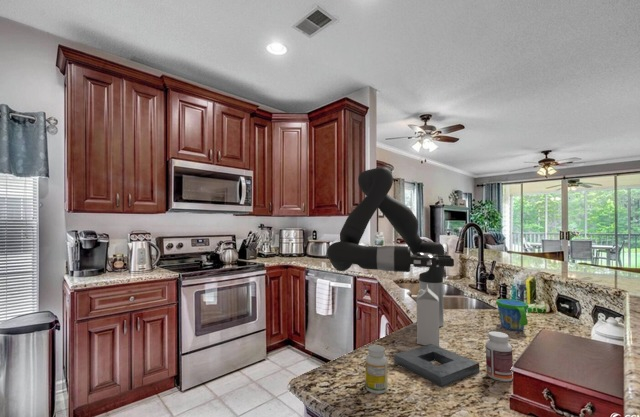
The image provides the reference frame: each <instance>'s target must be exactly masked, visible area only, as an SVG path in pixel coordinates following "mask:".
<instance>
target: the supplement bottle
mask: <svg viewBox="0 0 640 417" xmlns="http://www.w3.org/2000/svg"><path fill="white" fill-rule="evenodd" d="M367 349H368V350H367V353H368V354H367V355H366V357H365V381H364V382H365V388H366V390H367V391H368V392H369V393H372V394H377V395H378V394H379V395H380V394H384V393H386V392H387V390H388V383H389V382H388V374H389V373H388V365H389V364H388V358H387V357H386V356H385V354H386V352H385V351H386V350H385V348H384V347H383V346H381V345H376V344H374V345H373V344H372V345H369V346H368V348H367Z"/></svg>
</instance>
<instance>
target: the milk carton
mask: <svg viewBox="0 0 640 417" xmlns="http://www.w3.org/2000/svg"><path fill="white" fill-rule="evenodd" d="M416 293H417V295H416V344H417V345H422V346H425V345H428V344H433V345H435V346H438V347H440V327H439V299H438V296H437V295H436V294H434V293H433V292H432V291H431V290H430V289H429V288H428V285H427V288H426V289H425V290H423V289H421V290H418V291H417V292H416Z"/></svg>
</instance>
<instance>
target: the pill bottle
mask: <svg viewBox="0 0 640 417" xmlns="http://www.w3.org/2000/svg"><path fill="white" fill-rule="evenodd" d="M487 335H488V340H486V342H485V357H486V358H485V359H486V361H485V363H486V364H485V365H486V366H485V367H486V368H485V369H486V370H485V371H486V375H487V376H488V377H489V378H491V379H493V380H496V381H498V382H499V381H500V382H505V383H508V382H511V381H512V372H511V370H510V369H511V367H512V366H513V367H514V364H513V363H514V361H513V360H514V359H513V346H512V345H511V344H510V343H508V342H509V341H510V340H509V339H510V338H509V335H508V334H507V333H504V332H501V331H489V332H488V333H487Z"/></svg>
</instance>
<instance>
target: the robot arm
mask: <svg viewBox="0 0 640 417" xmlns="http://www.w3.org/2000/svg"><path fill="white" fill-rule="evenodd" d="M393 182H394V176H393V173H392V171H391V170H390V169H389V168H387V167H383V166H382V167H375V168H369V169H366V170H363V171H362V172H360V173H359V175H358V183H357V184H358V186H359V188H360V190H361V191H362V193H363V194H364V195H365V197H364V199H363V200H362V201H361V202H359V204H357V206H355V208H354V209H353V210H352V211H351V212H350V213H349V214H348V216H347V217H346V220H345V222H344V223H343V226H342V228H341V230H340V233H339V236H340V240H339V241H336V242H333V243H331V244H330V245H329V246H328V248H327V251H326V255H327V258H328V260H329V261H330V263H331V266H332V267H333V268H334V269H335V270H336V271H338V272H345V271H347V270H349V269H350V268H351V267H352V266H353V265H357V266H358V267H360V268H361V269H364V270H375V271H377V270H378V271H382V272H383V271H385V272H394V273H395V272H398V273H410V272H411V266H412V265H413V267H415V268H428V270H426V271H423V272H421V273H419V276H418V286H419V287H418V288H419V290H421V289H423V290H425V289H426V288H427V285H428V288H429V289H430V290H431V291H432V292H433V293H434V294H436V295H437V296H438V299H439V328H440V327H443V326H444V276H445V267H450V268H451V267H454V266H455V259H454V258H452V256H451V255H448V254H447V255H446V254H445V248H444V245H443V244H442V243H440V242H435V241H424V240H423V239H422V238H421V237H420V235H419V233H418V231H419V220H418V219H417V216H416V215H415V214H414V212H413V211H412V210H411V208H410V207H409V206H407V205H406V204H405V203H403V202H401V201H400V200H398V199H396V198H394V197H392V196H391V195H390V194H389V192H390V190H391V189H392V187H393V184H394V183H393ZM377 209H378V210H380V212H381V213H382V214H383V216H384V217H385V218H386V219H387V221H388V222H389V223H390V225H391V226H392V227H393V228H394V230H395V231H396V232H397V233H398V234H399V236H400V237H401V239H402V241H403V242H405V243H406V245H407V246H406V245H405V246H403V245H380V246H378V245H377V246H375V245H374V246H372V245H361V244H360V241H361V239H362V238H363V235H364V233H365V232H366V229H367V226H368V225H369V223H370V220H371V219H372V217H373V216H374V214H375V212H376V211H377ZM419 290H418V291H419Z"/></svg>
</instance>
